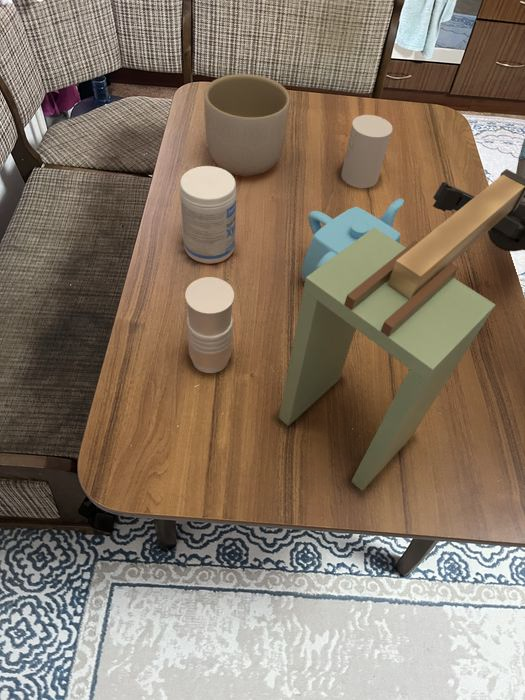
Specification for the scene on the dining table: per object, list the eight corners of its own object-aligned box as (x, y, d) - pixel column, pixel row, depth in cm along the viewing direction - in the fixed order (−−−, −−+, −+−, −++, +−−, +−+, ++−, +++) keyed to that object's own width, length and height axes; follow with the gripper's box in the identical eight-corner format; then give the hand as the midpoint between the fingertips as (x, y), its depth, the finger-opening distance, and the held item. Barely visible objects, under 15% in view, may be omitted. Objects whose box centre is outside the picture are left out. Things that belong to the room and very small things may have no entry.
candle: (241, 359, 86) (245, 296, 74) (207, 383, 82) (206, 321, 70) (213, 333, 88) (213, 269, 76) (180, 355, 85) (174, 292, 73)
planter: (290, 149, 121) (298, 83, 109) (272, 193, 111) (279, 126, 99) (218, 134, 123) (218, 67, 111) (194, 176, 113) (192, 108, 101)
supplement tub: (238, 263, 98) (241, 197, 87) (187, 268, 97) (183, 202, 85) (229, 228, 104) (231, 162, 92) (180, 232, 102) (176, 166, 90)
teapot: (391, 322, 93) (414, 267, 82) (297, 311, 92) (309, 254, 82) (385, 250, 103) (405, 193, 93) (301, 241, 103) (312, 182, 93)
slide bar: (517, 208, 65) (532, 181, 62) (411, 302, 55) (423, 276, 52) (493, 194, 67) (506, 168, 64) (385, 284, 56) (394, 258, 53)
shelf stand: (411, 437, 79) (502, 294, 54) (362, 491, 74) (438, 360, 48) (329, 372, 85) (377, 216, 60) (278, 417, 80) (307, 266, 54)
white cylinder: (350, 161, 120) (362, 110, 111) (383, 174, 118) (398, 123, 109) (335, 179, 116) (345, 127, 106) (368, 192, 114) (383, 142, 104)
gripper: (575, 290, 81) (558, 305, 64) (437, 209, 90) (390, 203, 73) (610, 246, 77) (602, 250, 60) (463, 167, 86) (420, 150, 69)
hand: (486, 224), depth 66 cm, fingers open, 13 cm apart
